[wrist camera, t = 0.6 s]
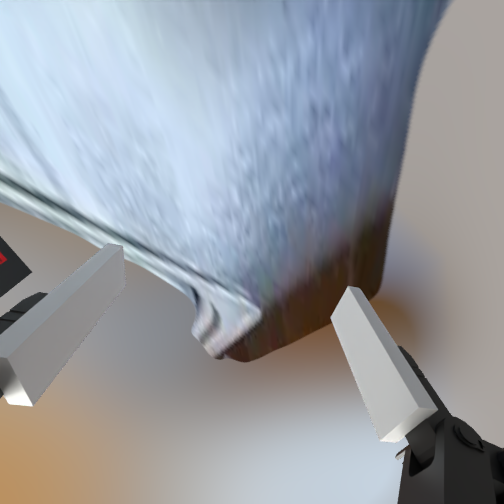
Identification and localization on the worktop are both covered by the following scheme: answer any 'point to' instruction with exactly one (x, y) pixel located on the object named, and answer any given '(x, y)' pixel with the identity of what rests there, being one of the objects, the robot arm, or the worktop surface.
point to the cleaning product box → (10, 268)
